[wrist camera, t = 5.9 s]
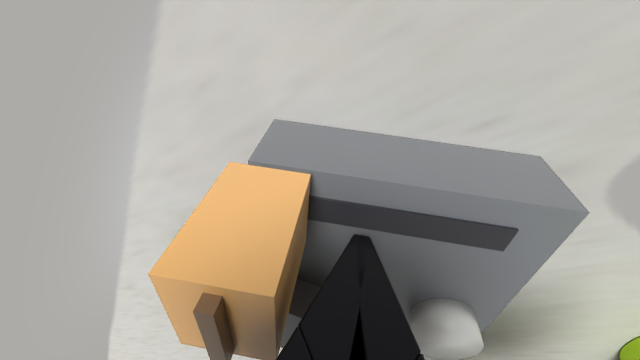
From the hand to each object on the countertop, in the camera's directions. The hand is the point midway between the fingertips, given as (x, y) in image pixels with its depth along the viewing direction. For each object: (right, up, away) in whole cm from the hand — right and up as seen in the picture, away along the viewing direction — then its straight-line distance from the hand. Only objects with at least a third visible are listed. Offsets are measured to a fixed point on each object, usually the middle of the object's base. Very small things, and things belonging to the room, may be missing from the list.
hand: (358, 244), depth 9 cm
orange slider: (-3, +1, +1) cm, 3 cm away
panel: (+2, 0, +5) cm, 5 cm away
